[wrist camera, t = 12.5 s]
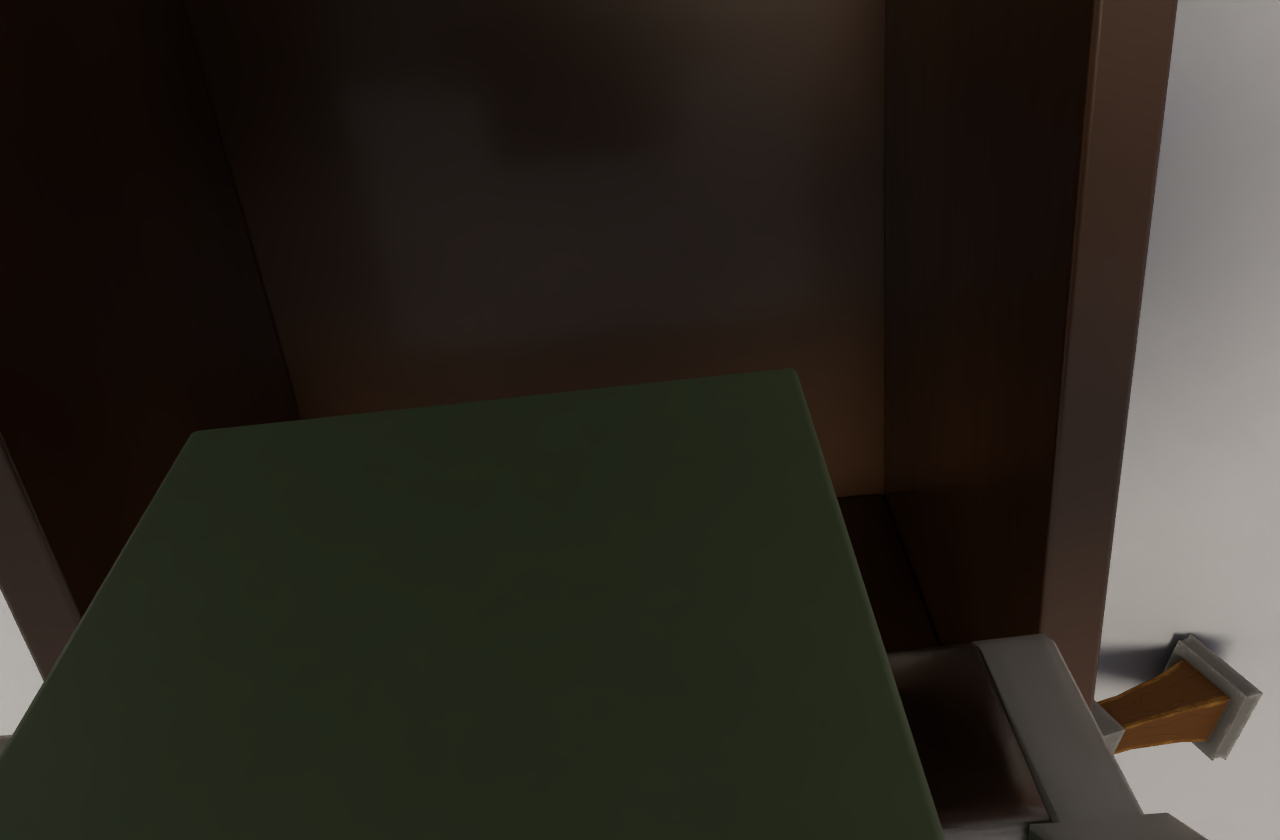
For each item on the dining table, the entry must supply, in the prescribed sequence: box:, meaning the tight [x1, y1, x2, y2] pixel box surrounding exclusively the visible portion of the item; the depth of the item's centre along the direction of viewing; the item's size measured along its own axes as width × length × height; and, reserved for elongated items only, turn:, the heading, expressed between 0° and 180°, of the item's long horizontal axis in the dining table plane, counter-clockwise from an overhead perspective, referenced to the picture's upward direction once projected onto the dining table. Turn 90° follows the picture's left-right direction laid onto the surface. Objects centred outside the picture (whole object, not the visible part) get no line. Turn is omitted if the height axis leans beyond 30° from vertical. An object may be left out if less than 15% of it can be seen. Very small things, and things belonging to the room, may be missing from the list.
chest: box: [0, 0, 1178, 713], centre depth 15 cm, size 15×11×9 cm
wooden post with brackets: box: [1092, 634, 1263, 761], centre depth 23 cm, size 2×8×4 cm, turn 81°
